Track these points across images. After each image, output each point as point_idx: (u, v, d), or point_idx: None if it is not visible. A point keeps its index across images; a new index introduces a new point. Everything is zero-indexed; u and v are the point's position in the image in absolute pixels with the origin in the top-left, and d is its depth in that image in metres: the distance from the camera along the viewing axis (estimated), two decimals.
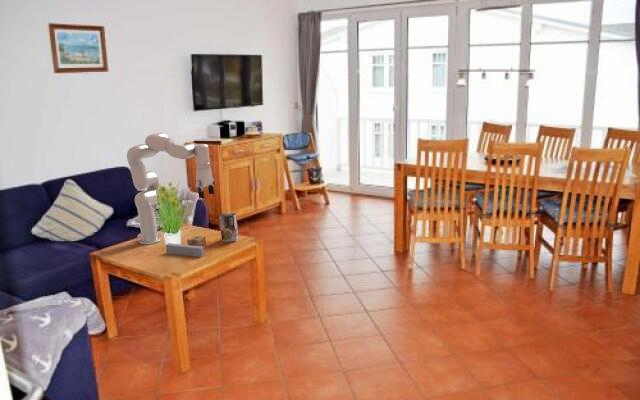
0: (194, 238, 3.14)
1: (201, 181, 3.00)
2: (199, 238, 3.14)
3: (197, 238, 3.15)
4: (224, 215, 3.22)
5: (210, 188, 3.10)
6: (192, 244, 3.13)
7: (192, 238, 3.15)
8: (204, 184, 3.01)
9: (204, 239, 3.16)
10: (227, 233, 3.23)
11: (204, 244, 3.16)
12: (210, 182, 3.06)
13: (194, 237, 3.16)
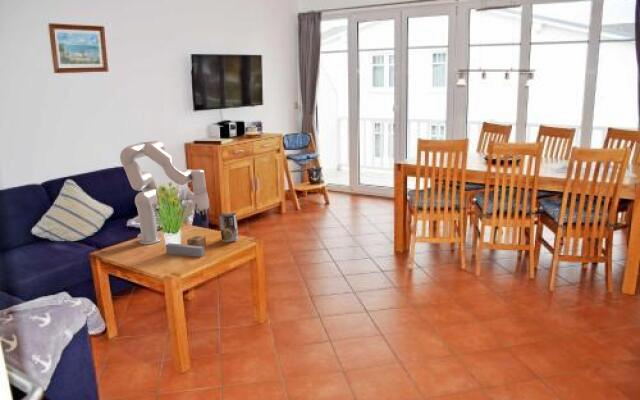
0: (194, 238, 3.15)
1: None
2: (199, 238, 3.14)
3: (197, 238, 3.15)
4: (224, 215, 3.22)
5: None
6: (192, 244, 3.13)
7: (192, 238, 3.15)
8: (201, 208, 3.14)
9: (204, 239, 3.16)
10: (227, 233, 3.23)
11: (204, 244, 3.16)
12: (207, 205, 3.19)
13: (194, 237, 3.16)
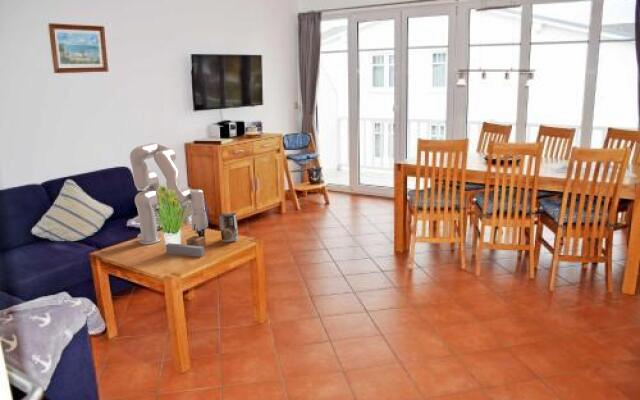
0: (193, 238, 3.14)
1: (197, 229, 3.14)
2: (198, 238, 3.13)
3: (197, 238, 3.14)
4: (224, 215, 3.22)
5: None
6: (192, 244, 3.12)
7: (191, 238, 3.14)
8: (199, 228, 3.14)
9: (203, 239, 3.15)
10: (227, 233, 3.23)
11: (204, 244, 3.16)
12: (205, 225, 3.19)
13: (193, 237, 3.16)
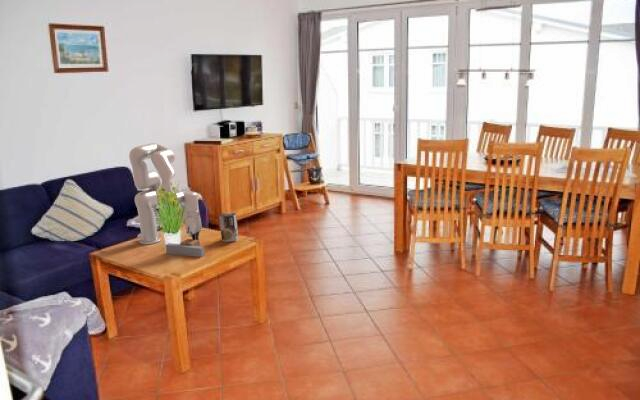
0: (187, 241, 3.09)
1: (191, 232, 3.09)
2: (193, 241, 3.08)
3: (191, 241, 3.09)
4: (224, 215, 3.22)
5: None
6: None
7: (185, 241, 3.09)
8: (193, 231, 3.09)
9: (198, 242, 3.10)
10: (227, 233, 3.23)
11: None
12: (199, 228, 3.14)
13: (187, 240, 3.10)
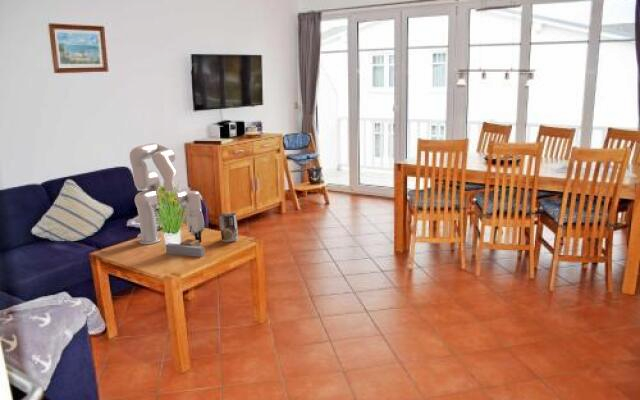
0: (187, 242, 3.09)
1: (194, 231, 3.11)
2: (193, 242, 3.08)
3: (191, 241, 3.09)
4: (224, 215, 3.22)
5: None
6: None
7: (185, 242, 3.09)
8: (196, 230, 3.11)
9: (198, 243, 3.10)
10: (227, 233, 3.23)
11: None
12: (202, 227, 3.16)
13: (188, 241, 3.11)
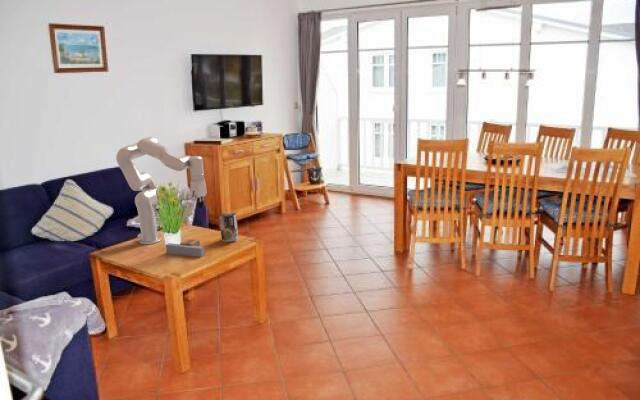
0: (188, 242, 3.09)
1: (196, 196, 3.12)
2: (193, 242, 3.08)
3: (191, 241, 3.09)
4: (224, 215, 3.22)
5: None
6: None
7: (185, 242, 3.09)
8: (198, 195, 3.12)
9: (198, 243, 3.10)
10: (227, 233, 3.23)
11: None
12: (204, 193, 3.17)
13: (188, 241, 3.10)
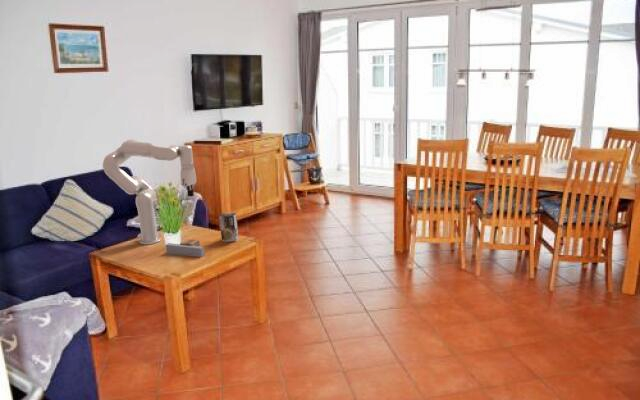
0: (188, 242, 3.09)
1: None
2: (193, 242, 3.08)
3: (191, 241, 3.09)
4: (224, 215, 3.22)
5: None
6: None
7: (186, 242, 3.09)
8: (188, 183, 3.20)
9: (198, 243, 3.10)
10: (227, 233, 3.23)
11: None
12: (194, 181, 3.25)
13: (188, 241, 3.11)
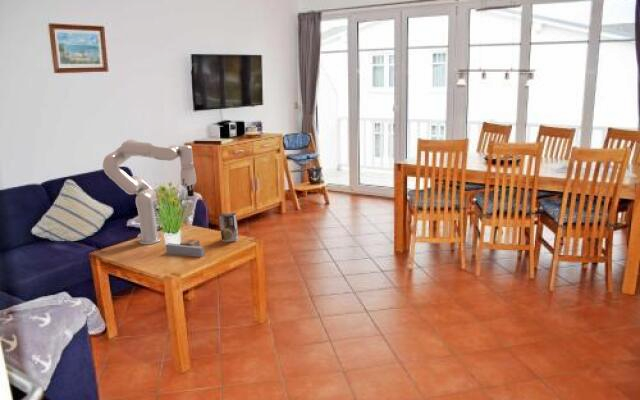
0: (188, 242, 3.09)
1: None
2: (193, 242, 3.08)
3: (191, 241, 3.09)
4: (224, 215, 3.22)
5: None
6: None
7: (185, 242, 3.09)
8: (188, 183, 3.20)
9: (198, 243, 3.10)
10: (227, 233, 3.23)
11: None
12: (194, 181, 3.25)
13: (188, 241, 3.11)
